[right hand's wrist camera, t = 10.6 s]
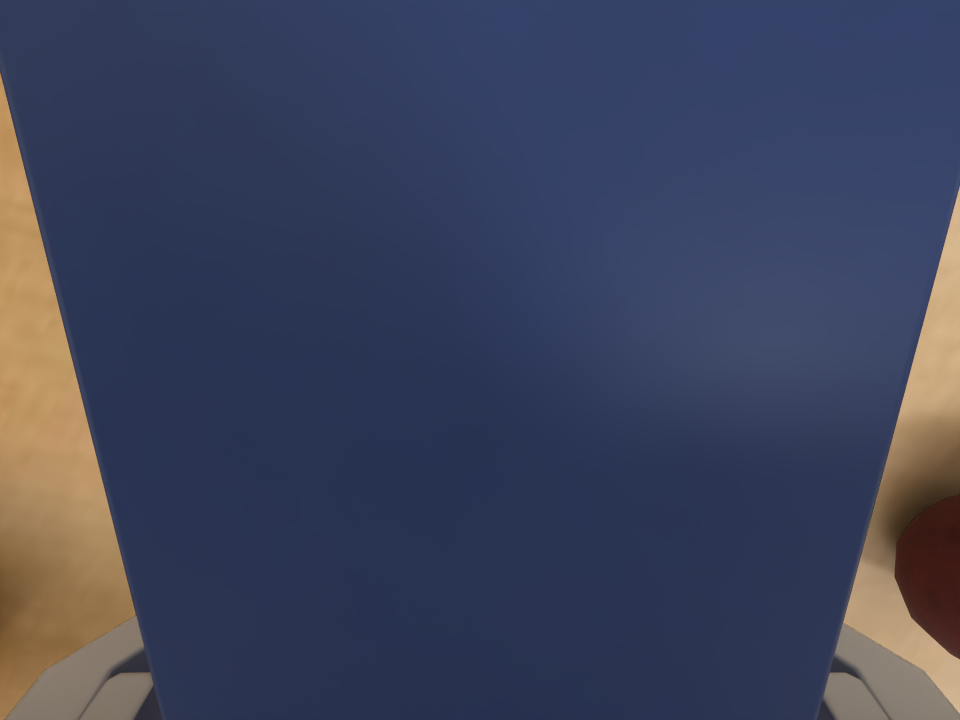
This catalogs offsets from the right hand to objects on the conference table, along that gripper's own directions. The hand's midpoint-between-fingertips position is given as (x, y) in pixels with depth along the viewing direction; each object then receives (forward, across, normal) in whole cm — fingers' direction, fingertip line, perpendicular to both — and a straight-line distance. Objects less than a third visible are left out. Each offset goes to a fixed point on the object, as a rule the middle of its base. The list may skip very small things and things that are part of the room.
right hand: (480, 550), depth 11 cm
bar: (+4, 0, -9) cm, 9 cm away
